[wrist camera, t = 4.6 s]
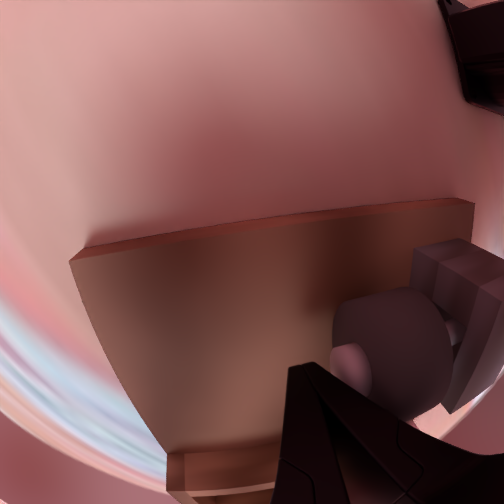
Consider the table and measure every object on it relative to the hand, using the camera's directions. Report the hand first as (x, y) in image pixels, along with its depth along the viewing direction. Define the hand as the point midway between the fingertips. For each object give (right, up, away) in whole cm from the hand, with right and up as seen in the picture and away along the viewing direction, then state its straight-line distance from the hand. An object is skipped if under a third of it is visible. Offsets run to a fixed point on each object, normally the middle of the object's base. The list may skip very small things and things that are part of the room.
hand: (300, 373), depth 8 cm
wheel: (+4, +1, +2) cm, 4 cm away
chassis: (+2, -5, +6) cm, 8 cm away
